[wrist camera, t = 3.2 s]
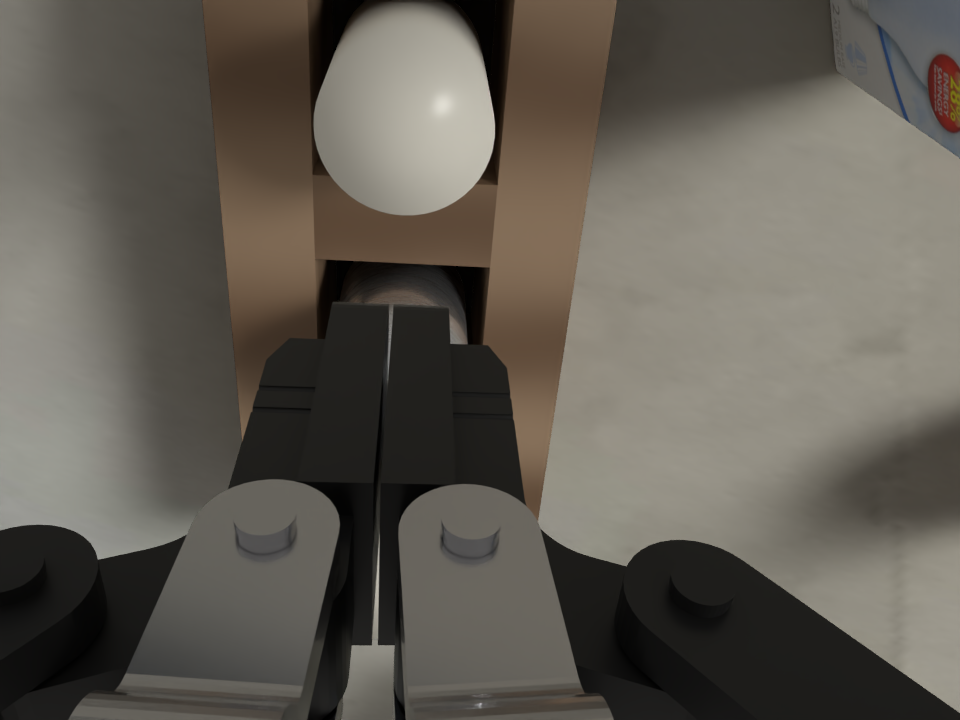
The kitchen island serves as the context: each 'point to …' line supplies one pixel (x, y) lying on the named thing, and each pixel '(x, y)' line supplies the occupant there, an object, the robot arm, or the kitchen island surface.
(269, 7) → the wooden compartment box
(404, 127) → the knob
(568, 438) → the kitchen island surface
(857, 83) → the light bulb box
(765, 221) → the kitchen island surface
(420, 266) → the knob middle
